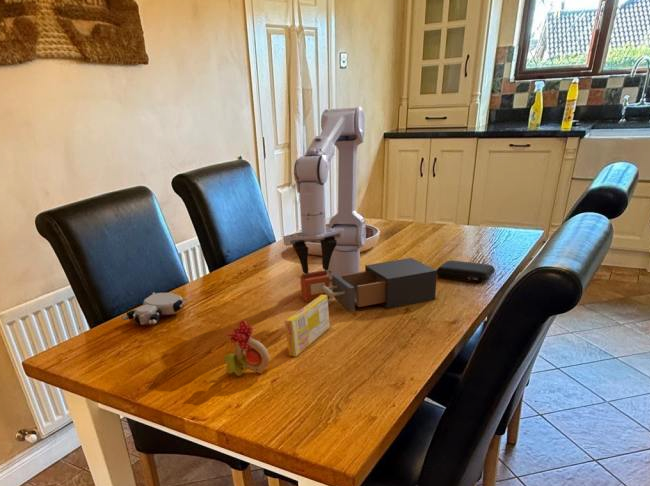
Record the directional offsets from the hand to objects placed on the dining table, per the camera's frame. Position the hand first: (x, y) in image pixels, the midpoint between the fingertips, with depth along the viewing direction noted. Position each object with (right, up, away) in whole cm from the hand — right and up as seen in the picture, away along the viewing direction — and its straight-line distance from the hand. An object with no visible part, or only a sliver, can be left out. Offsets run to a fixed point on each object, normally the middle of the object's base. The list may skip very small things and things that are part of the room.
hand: (315, 270), depth 125 cm
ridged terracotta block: (+1, -4, +14) cm, 14 cm away
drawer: (+11, -6, +7) cm, 14 cm away
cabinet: (+23, -4, +10) cm, 25 cm away
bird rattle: (-15, -26, -21) cm, 36 cm away
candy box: (-2, -19, -10) cm, 21 cm away
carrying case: (+43, +3, +20) cm, 47 cm away
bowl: (+10, +23, +57) cm, 62 cm away
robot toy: (-41, -10, +9) cm, 43 cm away
